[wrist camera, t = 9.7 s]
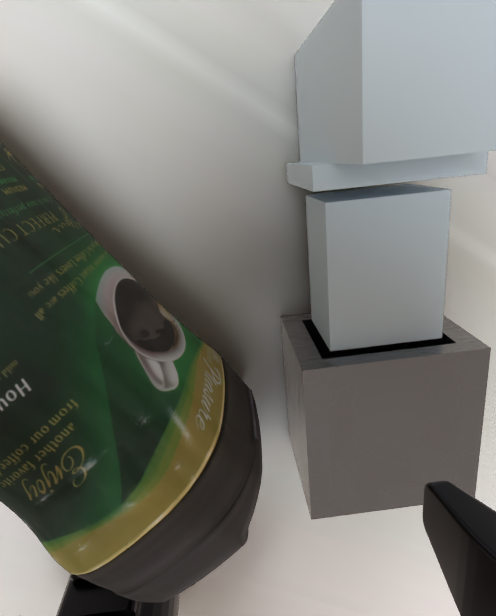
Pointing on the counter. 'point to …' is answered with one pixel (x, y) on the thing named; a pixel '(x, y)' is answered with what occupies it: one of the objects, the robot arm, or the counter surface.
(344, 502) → the housing
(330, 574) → the counter surface
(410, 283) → the end cover
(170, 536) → the coffee jar
